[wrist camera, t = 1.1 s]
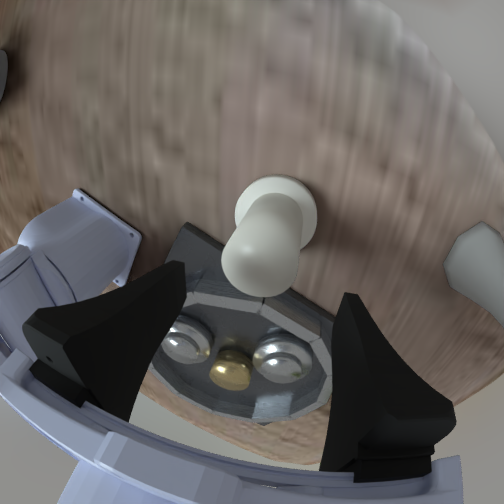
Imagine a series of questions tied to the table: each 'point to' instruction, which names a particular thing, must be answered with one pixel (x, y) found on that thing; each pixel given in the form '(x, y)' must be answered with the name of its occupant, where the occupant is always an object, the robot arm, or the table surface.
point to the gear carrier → (242, 343)
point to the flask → (479, 268)
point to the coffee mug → (3, 71)
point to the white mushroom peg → (269, 235)
